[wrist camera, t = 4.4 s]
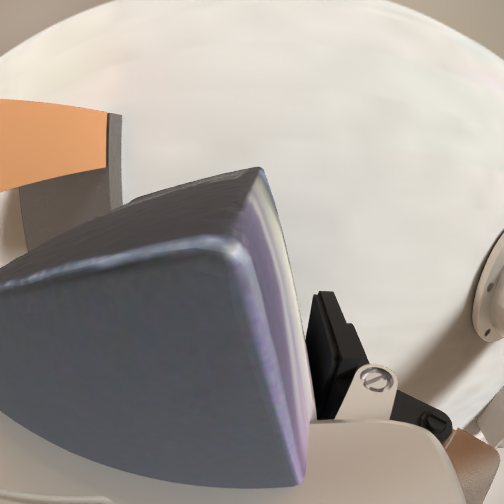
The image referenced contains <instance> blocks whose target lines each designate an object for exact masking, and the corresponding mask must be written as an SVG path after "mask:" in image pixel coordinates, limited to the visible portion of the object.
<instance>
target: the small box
mask: <svg viewBox="0 0 504 504" xmlns="http://www.w3.org/2000/svg"><path fill="white" fill-rule="evenodd" d="M0 411H1V412H2V413H4V414H5V415H7V416H8V417H9V418H11V419H12V420H14V421H15V422H17V423H18V424H20V425H21V426H23V427H25V428H26V429H28V430H29V431H31V432H33V433H35V434H36V435H38V436H40V437H42V438H43V439H45V440H47V441H49V442H51V443H53V444H55V445H57V446H59V447H61V448H63V449H65V450H67V451H69V452H71V453H74V454H76V455H79V456H81V457H83V458H86V459H89V460H91V461H94V462H97V463H99V464H102V465H105V466H108V467H111V468H114V469H118V470H121V471H125V472H128V473H132V474H136V475H140V476H144V477H148V478H153V479H157V480H162V481H167V482H173V483H179V484H187V485H195V486H204V487H217V488H236V489H262V488H283V487H293V486H296V485H299V484H301V483H302V482H303V480H304V477H305V473H306V464H307V451H308V436H309V423H310V421H311V420H317V414H316V407H315V399H314V392H313V385H312V379H311V372H310V366H309V359H308V353H307V347H306V342H305V336H304V331H303V326H302V321H301V316H300V310H299V305H298V300H297V294H296V290H295V286H294V281H293V276H292V271H291V267H290V262H289V258H288V253H287V249H286V244H285V240H284V236H283V232H282V228H281V224H280V220H279V217H278V213H277V209H276V206H275V202H274V199H273V196H272V193H271V189H270V186H269V184H268V181H267V178H266V175H265V173H264V170H263V169H262V168H261V167H253V168H249V169H244V170H239V171H234V172H230V173H224V174H220V175H217V176H212V177H209V178H204V179H201V180H197V181H193V182H189V183H185V184H182V185H178V186H175V187H171V188H168V189H164V190H160V191H157V192H154V193H151V194H147V195H144V196H140V197H138V198H136V199H134V200H132V201H131V202H129V203H128V204H126V205H123V206H121V207H119V208H116V209H114V210H111V211H109V212H107V213H105V214H103V215H101V216H98V217H96V218H94V219H92V220H90V221H87V222H85V223H83V224H81V225H79V226H77V227H75V228H73V229H71V230H69V231H67V232H65V233H63V234H61V235H59V236H57V237H55V238H52V239H51V240H49V241H47V242H45V243H43V244H41V245H40V246H38V247H36V248H34V249H32V250H30V251H29V252H28V253H26V254H25V255H23V256H20V257H18V258H16V259H15V260H13V261H12V262H10V263H9V264H7V265H6V266H4V267H2V268H0Z"/></svg>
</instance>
